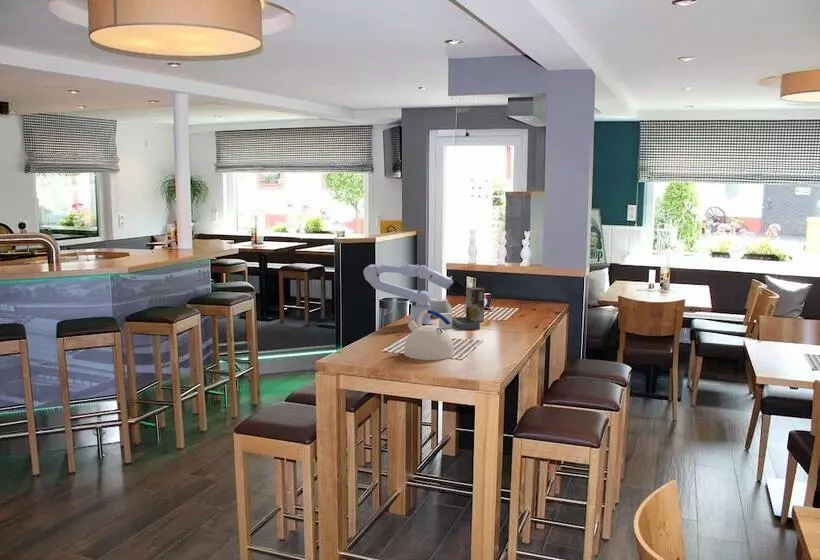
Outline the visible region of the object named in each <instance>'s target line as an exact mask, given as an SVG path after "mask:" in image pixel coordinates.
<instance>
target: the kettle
mask: <svg viewBox="0 0 820 560" xmlns="http://www.w3.org/2000/svg"><path fill="white" fill-rule="evenodd" d="M426 313H430V314H433V315H435V316H437V317H436V318H438V319H439V318H440V319H442V320H443V321H444V322H445V324H446V325H448V324H451V323H450V322H449V321H448V320H447V319H446V318H445V317H444V316H443V315H441V314H439V313H437V312H435V311H432V310H425V311H423V312H421V313H420V314H419V316H418V318H417V324H416V323H415V321H411V320H410V321H411V322H408V324H407V327H408V328H409V329H410V330H411V332H410V334H409V335H408V336H407V338H406V340H405V342H404V351H403V355H404V356H405V357H407V358H409V357H410V358H409V359H413V358H414V359H415V360H419V361H421V360H422V361H440V360H447V359H450V358H452V357H454V355H455V353H454V352H455V351H454V342H453V340H452V338H451V336H450V335H449V333H447V332H446V331H445V330H444V328H443V329H441V328H439V326H436V325H433V324H425V325H422V317H423V315H424V314H426ZM414 359H413V360H414Z"/></svg>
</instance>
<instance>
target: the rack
mask: <svg viewBox="0 0 820 560" xmlns="http://www.w3.org/2000/svg"><path fill="white" fill-rule="evenodd" d="M480 325H481V324H480V321H476V320H474V319H473V318H470V317H466V316H465V317H464V316H460V317H457V316H456V317H452V327H454V326H455V327H454V328H456V329H457V328H458V329H457V330H458V331H466V330H467V329H468V330H469V329H473V330H480V329H481V326H480ZM463 329H464V330H463ZM465 329H466V330H465ZM468 330H467V331H468Z"/></svg>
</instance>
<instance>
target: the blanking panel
mask: <svg viewBox="0 0 820 560" xmlns="http://www.w3.org/2000/svg"><path fill="white" fill-rule="evenodd" d="M439 314H441V315H443V316H444V317H445V318H446V319H447V320H448V321H449V322H450V323H451V324H448V325H446V324H445V322H444V321H443V320H442V319H440V318H439V317H438V327H439V328H443V329H453V325H452V318H453V316H452V314H453V312H452V313H439Z"/></svg>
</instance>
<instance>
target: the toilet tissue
mask: <svg viewBox="0 0 820 560" xmlns="http://www.w3.org/2000/svg"><path fill="white" fill-rule="evenodd" d="M429 304H430V310H432V311H435V312H437V313H452V315H453V306H452V304H451V303H450V302H449V301H448V299H447V298H441V297H440V298H438V297H435V298H433V297H432V298H430V299H429ZM430 316H433V317H432V318H438V317H437V316H435V315H433V314H430Z"/></svg>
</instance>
